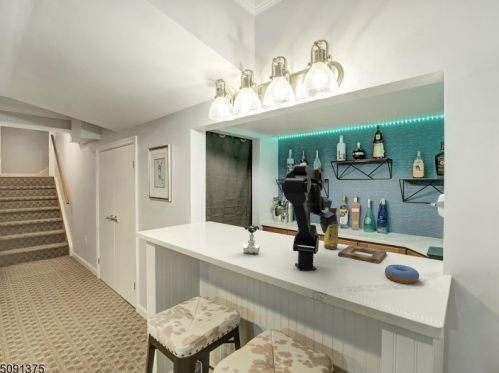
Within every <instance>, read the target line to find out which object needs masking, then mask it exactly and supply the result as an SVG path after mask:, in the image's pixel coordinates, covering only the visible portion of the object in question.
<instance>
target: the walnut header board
mask: <svg viewBox="0 0 499 373" xmlns="http://www.w3.org/2000/svg"><path fill="white" fill-rule="evenodd" d="M355 252H358V253H355ZM361 253H363V254H361ZM366 254H370V255H366ZM337 256H338V257H343V258H347V259H353V260H356V261H357V260H358V261H364V262H369V263H373V264H380V263H381V261H382V260H383V259H384V258H385V257H386V256H387V250H380V249H375V248H370V247H369V248H368V247H362V246H357V245H350V244H349V245H347V247H345V248H343V249H341V250H340V251H339V252H337Z"/></svg>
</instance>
